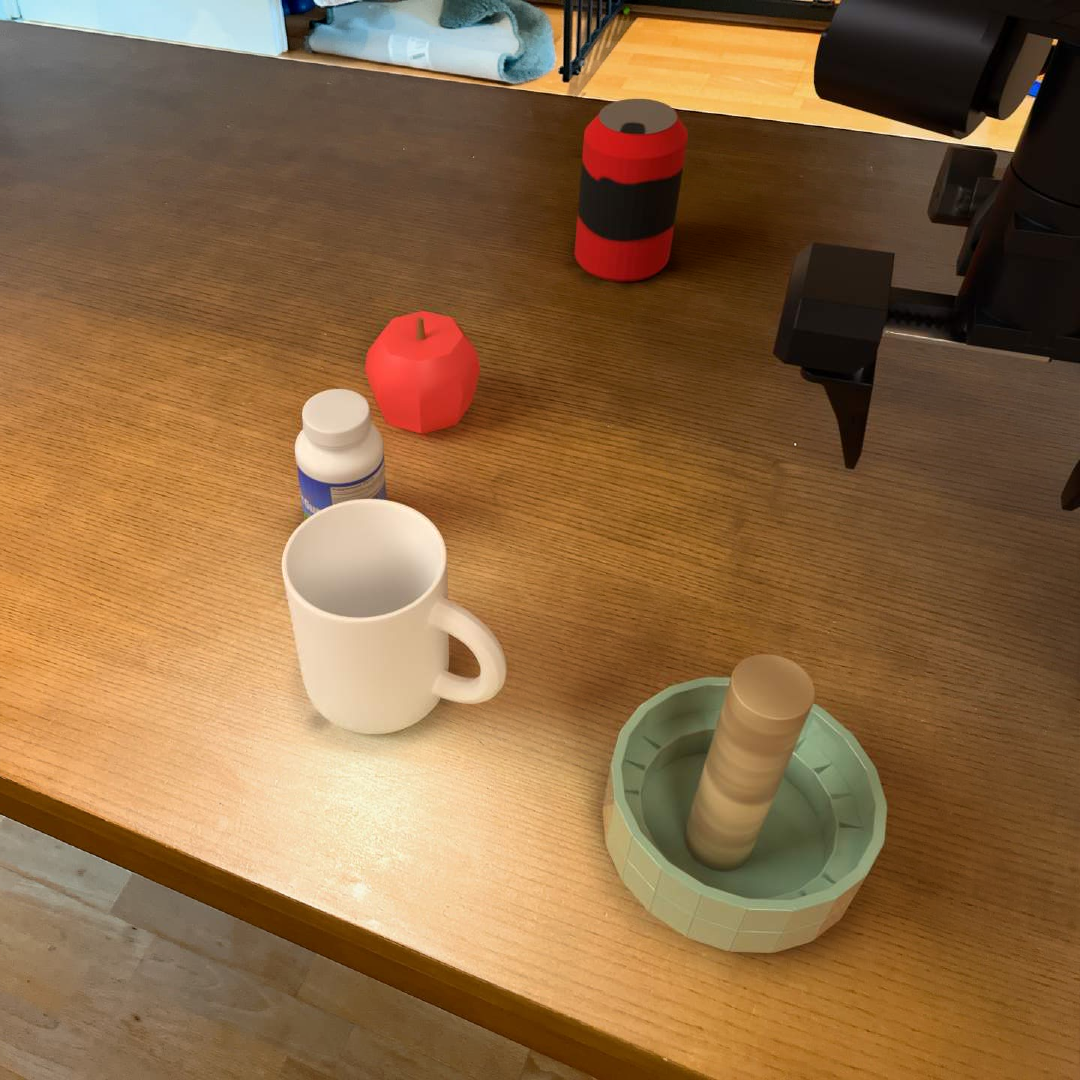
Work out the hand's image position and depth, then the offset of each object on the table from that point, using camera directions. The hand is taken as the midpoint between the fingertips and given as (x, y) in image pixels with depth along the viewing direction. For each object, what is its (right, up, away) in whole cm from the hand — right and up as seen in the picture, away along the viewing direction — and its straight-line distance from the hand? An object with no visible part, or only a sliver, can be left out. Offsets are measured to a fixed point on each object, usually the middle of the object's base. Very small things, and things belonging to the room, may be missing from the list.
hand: (954, 482), depth 50 cm
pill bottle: (-29, -2, +19) cm, 35 cm away
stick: (-10, -17, +2) cm, 20 cm away
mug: (-25, -11, +10) cm, 30 cm away
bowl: (-10, -17, +3) cm, 20 cm away
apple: (-23, +6, +26) cm, 36 cm away
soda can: (-6, +20, +38) cm, 43 cm away
